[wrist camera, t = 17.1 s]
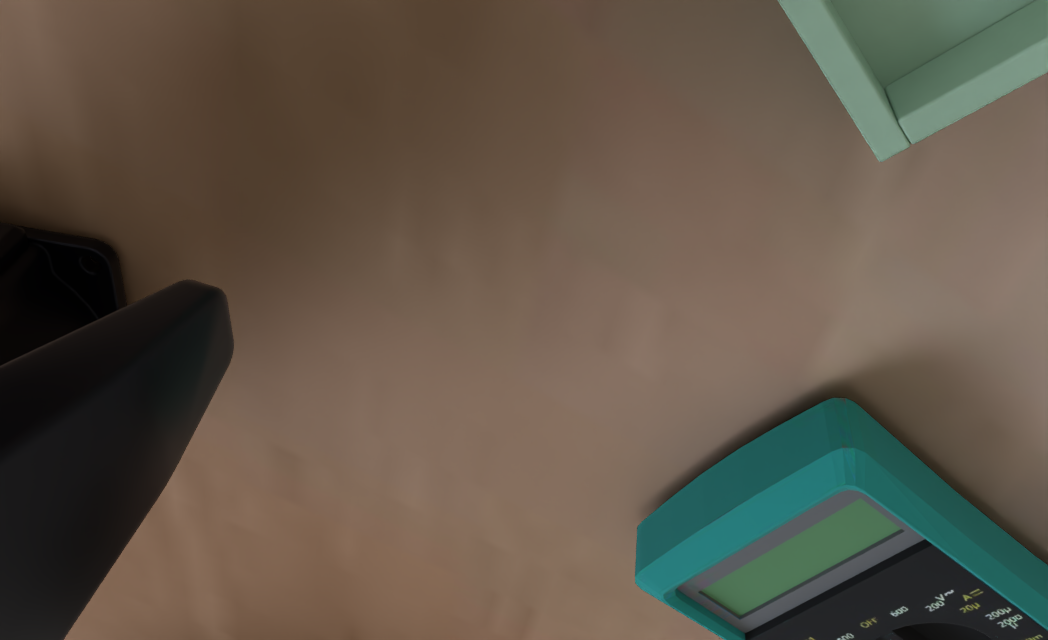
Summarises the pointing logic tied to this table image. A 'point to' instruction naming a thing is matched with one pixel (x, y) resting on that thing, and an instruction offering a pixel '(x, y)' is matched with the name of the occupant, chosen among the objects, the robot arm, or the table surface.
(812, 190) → the table surface
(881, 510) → the digital multimeter
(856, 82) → the tray
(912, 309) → the table surface
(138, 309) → the robot arm
